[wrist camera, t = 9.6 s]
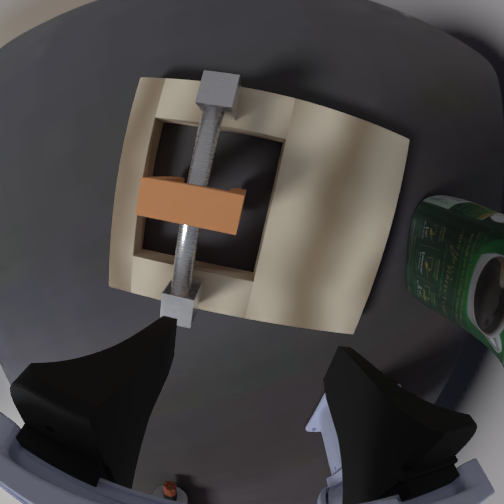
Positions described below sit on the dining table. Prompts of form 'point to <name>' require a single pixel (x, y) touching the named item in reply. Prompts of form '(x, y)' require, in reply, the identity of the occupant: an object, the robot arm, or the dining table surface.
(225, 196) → the orange u-shaped bracket
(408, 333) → the dining table surface
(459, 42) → the dining table surface
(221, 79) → the threaded rod assembly
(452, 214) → the coffee jar
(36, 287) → the dining table surface
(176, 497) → the cable
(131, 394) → the robot arm
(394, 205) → the beige board with cutout
